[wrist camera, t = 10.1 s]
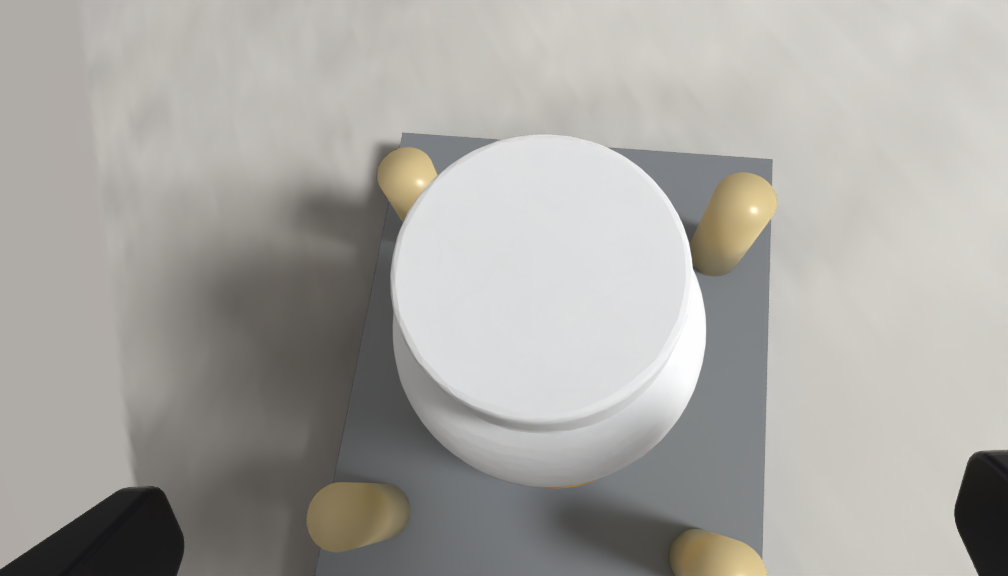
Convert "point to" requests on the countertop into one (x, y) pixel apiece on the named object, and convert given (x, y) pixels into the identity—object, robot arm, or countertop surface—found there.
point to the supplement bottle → (546, 311)
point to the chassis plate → (604, 502)
